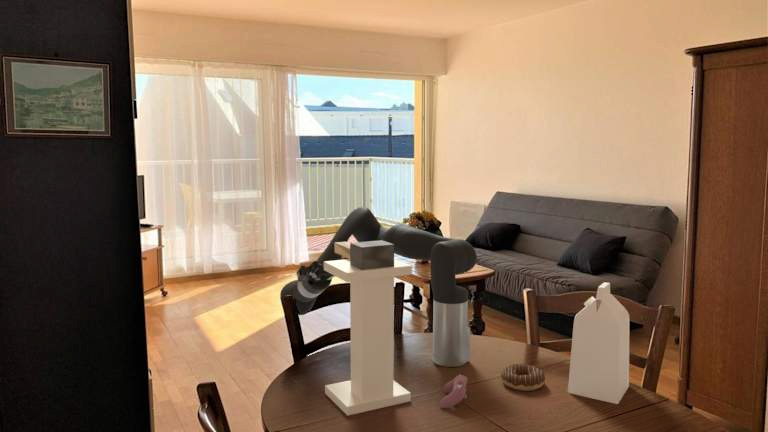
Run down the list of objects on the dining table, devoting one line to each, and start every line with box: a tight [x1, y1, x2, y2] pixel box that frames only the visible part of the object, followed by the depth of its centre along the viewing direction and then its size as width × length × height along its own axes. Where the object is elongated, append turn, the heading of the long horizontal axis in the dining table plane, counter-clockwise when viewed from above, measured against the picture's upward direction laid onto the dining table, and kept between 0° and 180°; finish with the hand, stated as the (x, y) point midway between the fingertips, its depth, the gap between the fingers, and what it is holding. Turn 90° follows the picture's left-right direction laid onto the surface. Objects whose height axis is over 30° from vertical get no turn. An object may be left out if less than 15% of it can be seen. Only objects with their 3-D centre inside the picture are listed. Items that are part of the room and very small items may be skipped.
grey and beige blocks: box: [334, 240, 395, 270], centre depth 143 cm, size 8×21×5 cm, turn 27°
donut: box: [500, 363, 546, 392], centre depth 151 cm, size 11×11×4 cm
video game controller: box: [439, 373, 469, 409], centre depth 141 cm, size 10×5×7 cm, turn 169°
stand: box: [324, 258, 413, 416], centre depth 141 cm, size 16×13×32 cm
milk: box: [567, 281, 630, 405], centre depth 146 cm, size 12×12×26 cm
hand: (333, 262), depth 157 cm, fingers open, 8 cm apart
